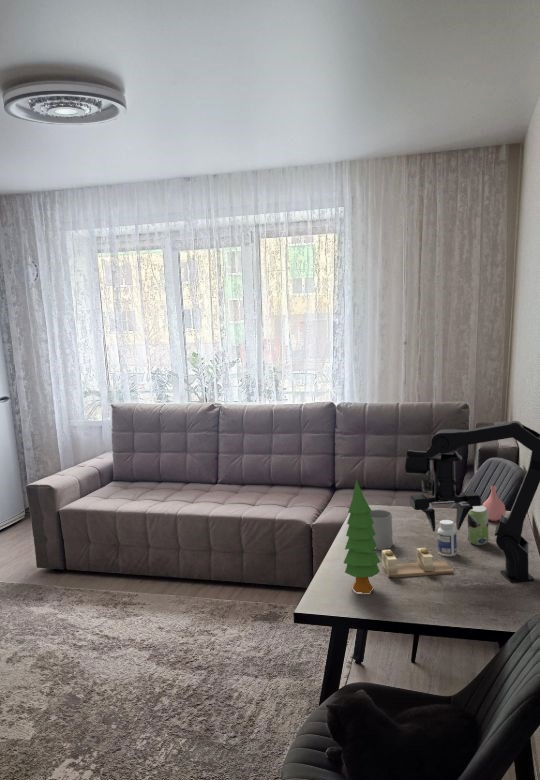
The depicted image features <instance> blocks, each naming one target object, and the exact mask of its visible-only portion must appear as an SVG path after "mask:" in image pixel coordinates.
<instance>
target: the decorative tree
mask: <svg viewBox="0 0 540 780" xmlns="http://www.w3.org/2000/svg"><path fill="white" fill-rule="evenodd" d="M369 511H372V509H371V507H370V506H369V504H368V502H367V500H366V498H365V497H364V494H363V491H362V488H361V487H360V485H359V482H358V479H355V483H354V488H353V494H352V499H351V503H350V506H349V508H348V510H347V513H348V514H349V516H348V520H347V523H346V525H348V527H347V531H346V535H345V537H348V539H347V542H346V545H345V548H344V550H348V551H347V553H346V555H345V558H344V561H343V564H345V565H346V568H345V571H344V573H345V574H347V575H349V576H352V577H354V578H355V581H354V583H353V584H352V586H353V589H354V590H355V591H356V592H362V593H370V591H371V590H372V588H374V586H373V585H372V584H371V583H370V580H369V578H373V577H374V576H375V575H377V574H379V573H380V572H381V571H380V568H379V565H378V564H379V563H382V560H380V557H379V556H378V554H377V552H376V549H374V548H375V547H376V546H377V545H376V543H375V541H374V539H373V536H375V535H376V534H375V532H374V529H373V527H372V524H373V523H374V522H373V520H372V517H371V515H370V512H369Z"/></svg>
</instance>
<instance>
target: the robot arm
mask: <svg viewBox="0 0 540 780" xmlns="http://www.w3.org/2000/svg"><path fill="white" fill-rule="evenodd" d="M506 439H514V440H515V441H517V442H519V443H520V444H521V445H522V446H524V447H525V448H527V450H530V451H531V454H530V458H529V464H528V468H527V470H526V472H525V475H524V477H523V481H522V483H521V485H520V486H519V490H518V492H517V495H516V497H515V500H514V503H513V504H512V507H511V510H510V511H509V513H508V514H507V516H502V515H501V519H500V520H499V523H498V524H497V526H496V527H495V532H494V536H495V537H496V539H495V543H496V545H497V547H498V548H499V549H500V550H502V551H503V554H504V555H505V556H504V559H505V561H504V562H505V563H504V565H505V569H502V570H500V571H499V573H500V574H501V575H502V576H503V577H504V578H506V579H507V580H508V581H509V582H511V583H516V582H517V583H518V582H528V581H529V582H530V581H535V577H534V576H533V575H531V574H530V573H529V548H530V547H529V541H527V539H525V537H523V536H522V534H523V527H524V523H525V519H526V517H527V514H528V512H529V509H530V507H531V505H532V503H533V499H534V497H535V495H536V492H537V490H538V487H539V484H540V433H539V432H538V431H536V430H535V429H534V430H533V429H532V428H529V427H528V426H526V425H524V424H523V423H522V422H520V421H518V420H512V421H509V422H504V423H499V424H494V425H492V424H491V425H488V426H482V427H476V428H471V429H470V428H469V429H456V428H455V429H446V428H445V429H440V430H438V431H437V432H436V433H435V434H434V435H433V436H432V438H431V446H428V448H427V449H426V450H415V449H408V450H407V451H406V458H405V463H404V469H405V473H406V474H407V475H418V476H419V475H421V476H422V475H423V476H428V475H429V473H430V472H432V470H433V477H432V480H431V482H430V479H423V480H421V485H420V486H421V491H422V492H428V495H430V496H432V497H427V496H426V495H424V494H422V493H421V494H411V495H410V497H409V499H408V501H409V504H408V505H409V506H411V507H412V508H413V510H415V511H422V512H423V513H425V516H426V518H427V520H428V523H429V525H430V528H431V531H432V532H434V533H435V531H436V511H435V509H433V505H446V504H455V506H456V507H455V508H456V520H455V521H456V522H455V526H456V527H455V528H456V531H460V530H461V528H462V525H463V523H464V521H465V519H466V517H467V516H468V512H469V511H470V510H471V509H473V507H472V506H481V505H482V506H483V500H482V497H481V495H480V494H478V493H476V492H475V491H473V490H469V491H461V492H460V493H459V495H457V493H456V492H457V491H456V488H457V487H456V486H457V485H458V480H456V462H462V459H463V456H462V455H460V454H459V452H458V451H457V450H458V449H461V448H463V447H466V446H468V445H475V444H481V443H487V442H493V441H499V440H501V441H502V440H506ZM453 451H454V452H453ZM451 452H453V453H451ZM438 454H441V455H438Z"/></svg>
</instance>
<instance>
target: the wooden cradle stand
mask: <svg viewBox="0 0 540 780" xmlns="http://www.w3.org/2000/svg"><path fill="white" fill-rule="evenodd" d="M381 564H382V565H381V568H382V567H383V568H382V570H383V569H384V570H385V571H384V570H383V571H384V573H385V572H386V573H385V574H386V576H387V575H388V576H387V578H388V577H395V578H406V577H407V578H408V577H419V576H420V577H421V576H435V575H447V574H448V575H449V574H450V575H451V574H454V570H453V569H452V568H451V566H450V565H449V564H448V563H447V562H446V561H445V560H435V561H434V560H433V571H424V570H423V569H422V567H421V566H420V565H419V564H418V562H408V563H407V562H405V563H398V559H397V558H396V555H395V554H394V553H393V551H392V550H391V549H381Z"/></svg>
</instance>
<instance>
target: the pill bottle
mask: <svg viewBox="0 0 540 780" xmlns="http://www.w3.org/2000/svg"><path fill="white" fill-rule="evenodd" d="M454 527H455V524H454V521H452V520H450V519H442V520H440V521H439V528H438V529H437V552H438V554H439V555H440V556H442V557H454V556H456V555H457V553H458V552H457V550H458V549H457V548H458V546H457V544H458V543H457V542H458V541H457V529H456V528H454Z"/></svg>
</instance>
